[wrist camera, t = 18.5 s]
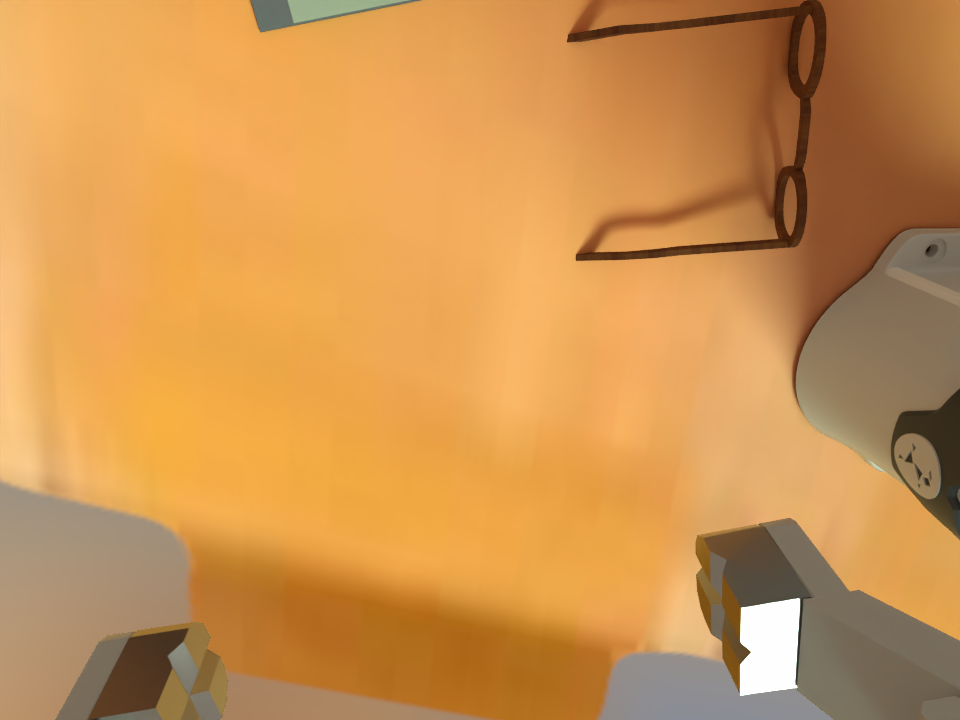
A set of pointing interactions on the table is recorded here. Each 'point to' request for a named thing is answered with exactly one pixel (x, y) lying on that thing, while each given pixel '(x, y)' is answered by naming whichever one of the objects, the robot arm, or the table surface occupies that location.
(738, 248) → the glasses
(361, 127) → the table surface
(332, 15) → the game board
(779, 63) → the table surface
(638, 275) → the table surface
